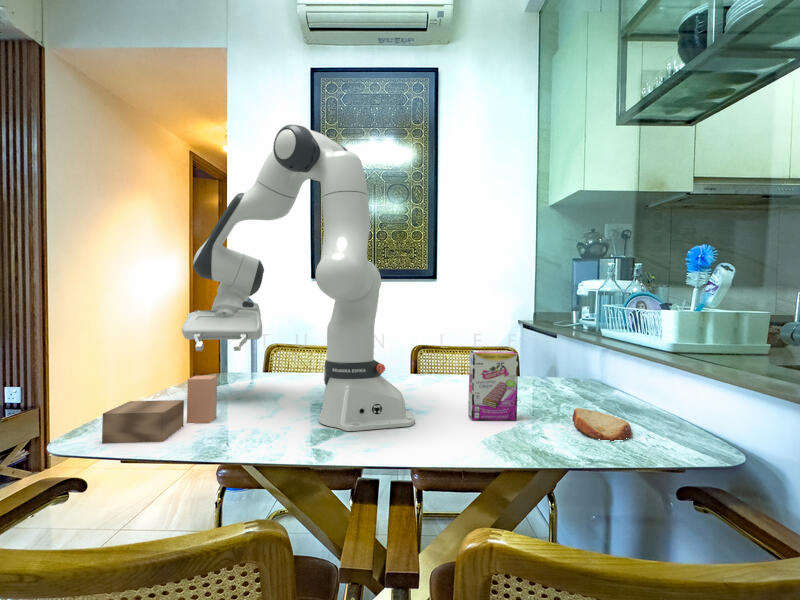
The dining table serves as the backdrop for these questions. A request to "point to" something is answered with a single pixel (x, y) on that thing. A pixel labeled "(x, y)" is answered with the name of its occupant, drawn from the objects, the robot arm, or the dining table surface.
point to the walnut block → (142, 421)
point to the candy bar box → (493, 385)
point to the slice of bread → (601, 425)
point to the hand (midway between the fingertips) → (217, 349)
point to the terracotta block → (201, 399)
